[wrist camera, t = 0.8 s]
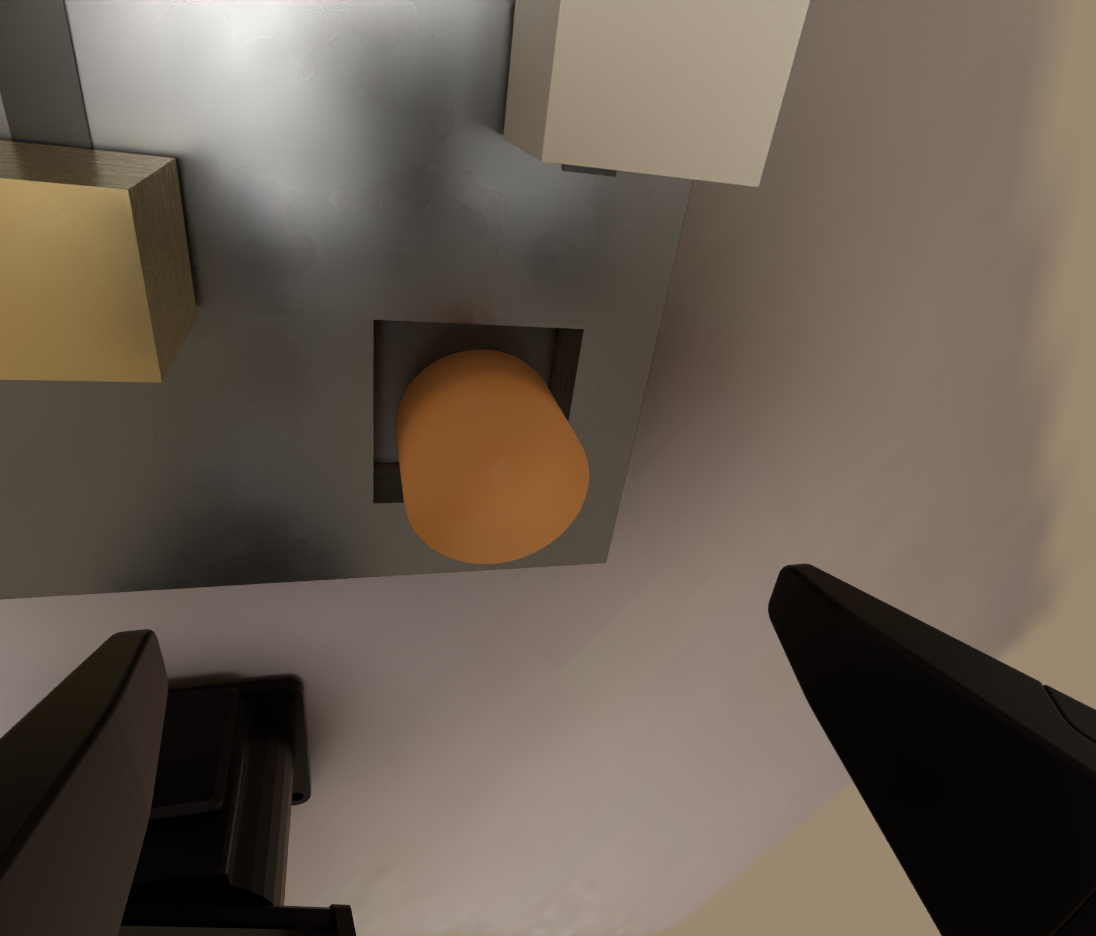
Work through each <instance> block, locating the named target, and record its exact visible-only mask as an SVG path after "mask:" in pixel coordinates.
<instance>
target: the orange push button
mask: <svg viewBox="0 0 1096 936" xmlns="http://www.w3.org/2000/svg"><path fill="white" fill-rule="evenodd" d="M395 431H396V441H397V449H398V457H399V465H400V473H401V481H402V489H403V497H404V505H405V509H406V514H407V516H408V519H409V521H410V524H411V525H412V527H413V529H414V530H415V532H416V533H417V534H418V536H419V537H420V538H421V539H422V540H423V541H424V542H425V543H426V544H427V545H428V546H429V547H431V548H432V549H434V550H435V551H437V552H438V553H440V554H443V555H445V556H447V557H449V558H452V559H455V560H458V561H462V562H467V563H475V564H495V563H503V562H508V561H513V560H516V559H519V558H522V557H525V556H528V555H530V554H532V553H535V552H536V551H538V550H540V549H542V548H544V547H545V546H547V545H548V544H550V543H551V542H553V541H554V540H555V539H556V538H557V537H559V536H560V535H561V534H562V533H563V532H564V531H565V530H566V529H567V528H568V527H569V526H570V524H571V523H572V522H573V520H574V519H575V518H576V516H577V515H578V513H579V511H580V509H581V507H582V505H583V503H584V500H585V498H586V494H587V490H588V484H589V467H588V461H587V457H586V454H585V452H584V449H583V447H582V445H581V444H580V442H579V440H578V438H577V437H576V435H575V433H574V431H573V430H572V428H571V426H570V424H569V423H568V421H567V419H566V418H565V416H564V414H563V412H562V411H561V409H560V407H559V406H558V404H557V402H556V400H555V399H554V397H553V395H552V394H551V392H550V390H549V388H548V387H547V385H546V383H545V382H544V380H543V379H542V378H541V376H540V375H539V374H538V373H537V372H536V371H535V370H534V369H533V368H532V367H531V366H530V365H528V364H527V363H525V362H524V361H522V360H520V359H519V358H517V357H515V356H512V355H509V354H507V353H503V352H499V351H495V350H485V349H481V350H468V351H461V352H458V353H454V354H451V355H448V356H446V357H444V358H441V359H439V360H437V361H436V362H434V363H432V364H431V365H429V366H428V367H427V368H425V369H424V370H423V371H421V372H420V373H419V374H418V375H417V376H416V377H415V378H414V379H413V381H412V382H411V383H410V384H409V386H408V387H407V389H406V390H405V392H404V394H403V396H402V398H401V400H400V403H399V405H398V409H397V413H396V421H395Z"/></svg>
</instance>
